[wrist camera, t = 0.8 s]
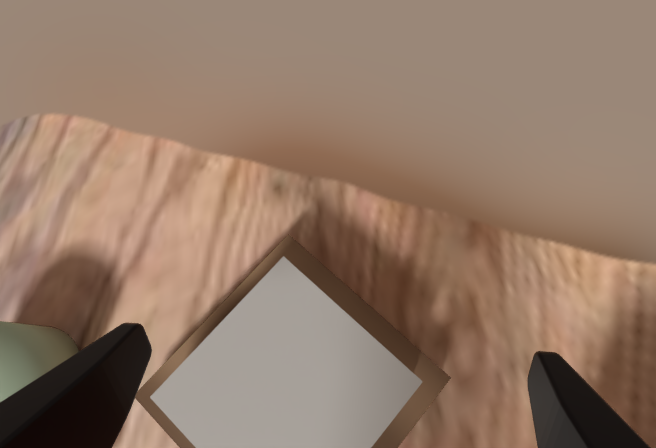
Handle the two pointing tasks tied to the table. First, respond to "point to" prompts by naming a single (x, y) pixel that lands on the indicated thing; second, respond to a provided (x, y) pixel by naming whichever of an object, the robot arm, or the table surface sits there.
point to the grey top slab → (286, 374)
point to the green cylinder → (30, 354)
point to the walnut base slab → (344, 299)
